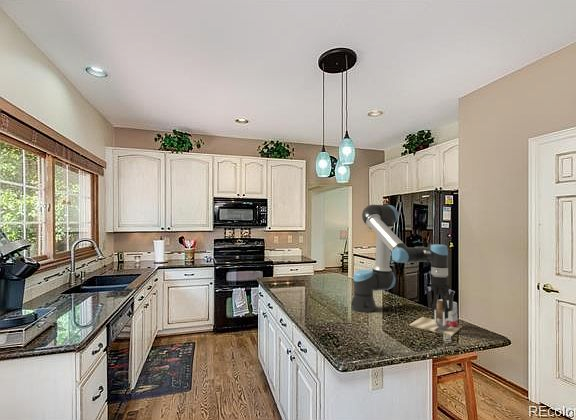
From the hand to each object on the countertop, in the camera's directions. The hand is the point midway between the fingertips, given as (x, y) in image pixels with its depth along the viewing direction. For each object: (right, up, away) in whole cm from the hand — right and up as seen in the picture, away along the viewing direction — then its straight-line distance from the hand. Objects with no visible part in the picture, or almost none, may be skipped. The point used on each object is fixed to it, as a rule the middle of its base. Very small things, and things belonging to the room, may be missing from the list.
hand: (440, 323), depth 149 cm
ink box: (+8, -3, +8) cm, 11 cm away
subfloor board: (+1, -4, +7) cm, 8 cm away
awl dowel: (0, -1, 0) cm, 1 cm away
